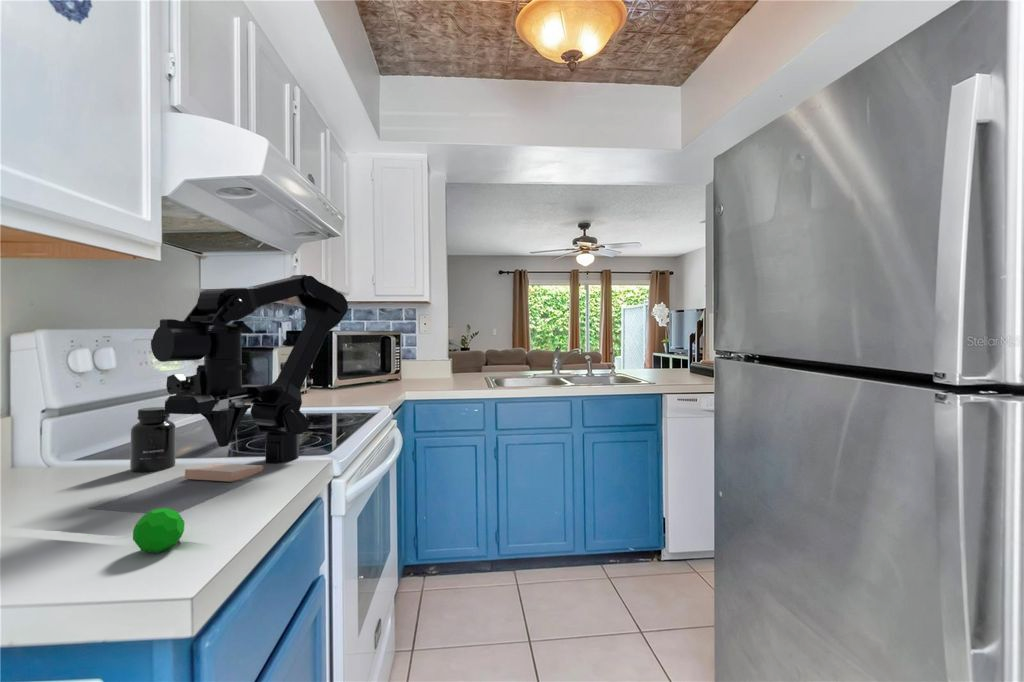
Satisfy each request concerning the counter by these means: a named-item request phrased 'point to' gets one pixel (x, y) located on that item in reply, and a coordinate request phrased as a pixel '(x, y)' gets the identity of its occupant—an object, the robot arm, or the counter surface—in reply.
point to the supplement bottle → (152, 441)
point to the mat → (171, 495)
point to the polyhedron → (158, 530)
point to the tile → (222, 472)
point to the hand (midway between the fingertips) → (223, 446)
